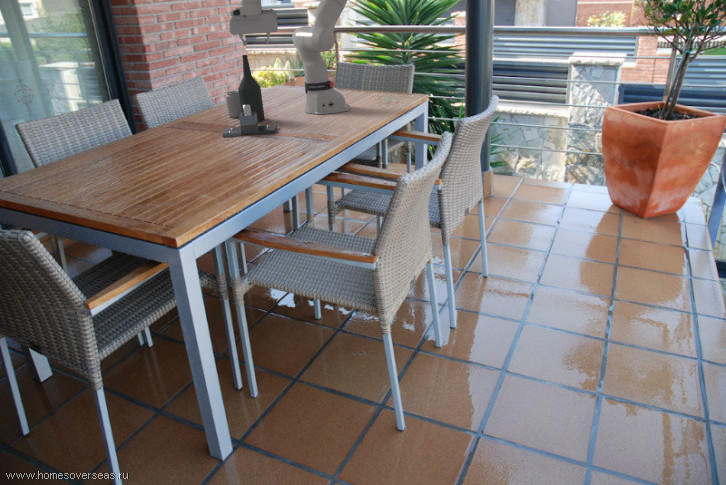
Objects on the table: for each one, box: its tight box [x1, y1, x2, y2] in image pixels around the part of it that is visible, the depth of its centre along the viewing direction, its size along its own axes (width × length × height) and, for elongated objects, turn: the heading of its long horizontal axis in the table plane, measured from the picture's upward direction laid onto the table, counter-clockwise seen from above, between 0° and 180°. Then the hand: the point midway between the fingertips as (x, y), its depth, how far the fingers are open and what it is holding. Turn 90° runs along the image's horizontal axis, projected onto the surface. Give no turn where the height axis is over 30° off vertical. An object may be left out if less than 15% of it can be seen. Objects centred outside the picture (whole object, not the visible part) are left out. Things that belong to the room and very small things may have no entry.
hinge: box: [221, 112, 278, 138], centre depth 249 cm, size 23×10×8 cm, turn 93°
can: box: [224, 90, 242, 119], centre depth 278 cm, size 8×8×12 cm
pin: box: [243, 104, 251, 116], centre depth 248 cm, size 3×3×12 cm
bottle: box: [237, 54, 265, 123], centre depth 264 cm, size 10×10×30 cm
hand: (256, 44), depth 246 cm, fingers open, 8 cm apart
